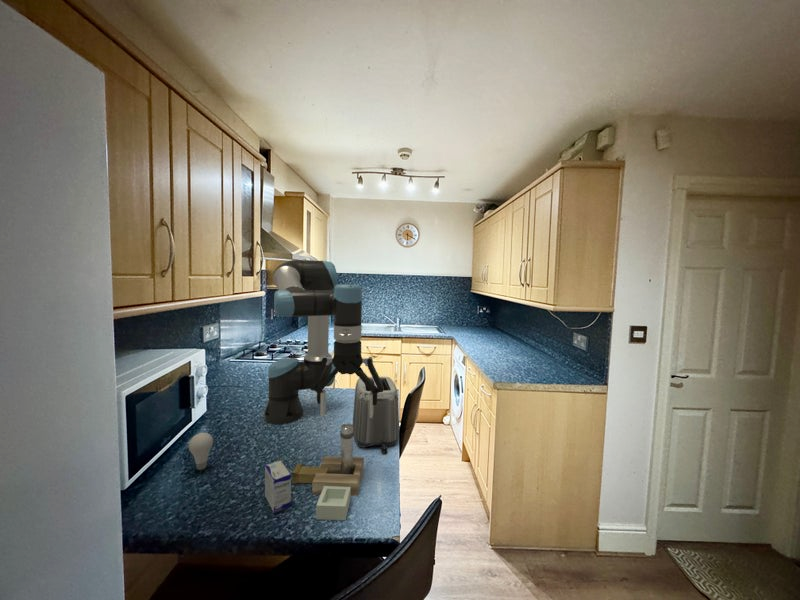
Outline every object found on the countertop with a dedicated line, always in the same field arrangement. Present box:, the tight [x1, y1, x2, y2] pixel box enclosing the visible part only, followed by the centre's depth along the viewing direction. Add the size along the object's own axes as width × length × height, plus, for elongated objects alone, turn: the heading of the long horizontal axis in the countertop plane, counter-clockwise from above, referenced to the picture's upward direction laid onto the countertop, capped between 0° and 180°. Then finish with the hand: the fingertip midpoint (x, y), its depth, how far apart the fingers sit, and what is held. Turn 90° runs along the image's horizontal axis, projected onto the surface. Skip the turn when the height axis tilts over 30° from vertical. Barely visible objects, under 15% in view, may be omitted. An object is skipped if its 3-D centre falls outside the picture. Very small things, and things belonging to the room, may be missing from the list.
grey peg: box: [339, 423, 355, 474], centre depth 89 cm, size 4×4×16 cm
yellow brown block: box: [291, 462, 329, 485], centre depth 89 cm, size 5×9×3 cm, turn 89°
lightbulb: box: [188, 432, 214, 471], centre depth 93 cm, size 6×6×11 cm
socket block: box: [311, 455, 365, 497], centre depth 89 cm, size 12×12×4 cm
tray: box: [315, 486, 352, 521], centre depth 78 cm, size 7×7×4 cm
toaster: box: [352, 376, 400, 455], centre depth 116 cm, size 17×30×19 cm, turn 9°
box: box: [264, 460, 292, 514], centre depth 80 cm, size 8×4×9 cm, turn 38°
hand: (347, 415), depth 88 cm, fingers open, 13 cm apart
